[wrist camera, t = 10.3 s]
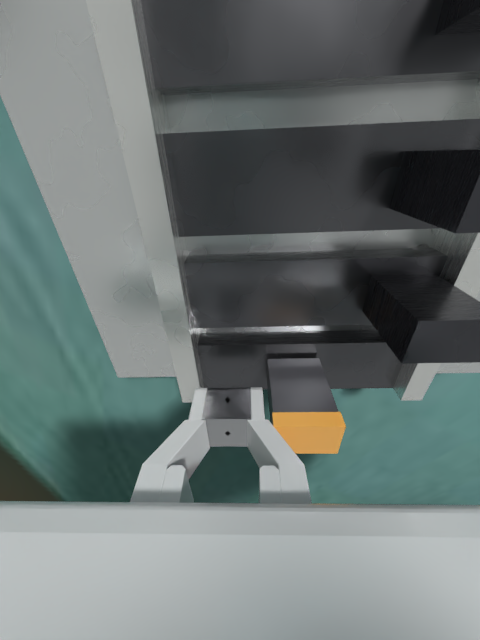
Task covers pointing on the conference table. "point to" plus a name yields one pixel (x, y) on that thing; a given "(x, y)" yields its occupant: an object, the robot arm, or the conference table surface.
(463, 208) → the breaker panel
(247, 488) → the conference table surface
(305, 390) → the handle
